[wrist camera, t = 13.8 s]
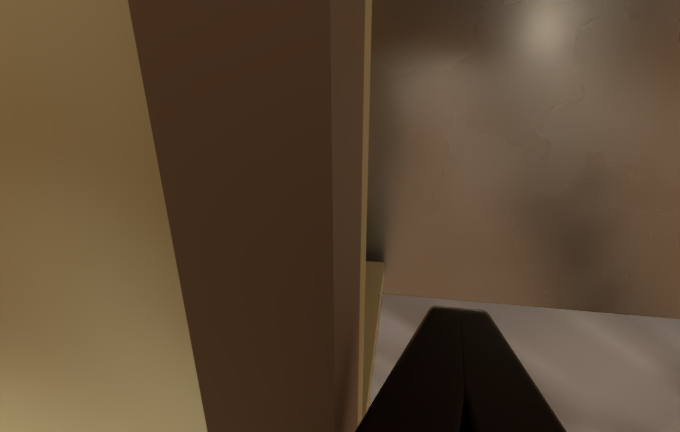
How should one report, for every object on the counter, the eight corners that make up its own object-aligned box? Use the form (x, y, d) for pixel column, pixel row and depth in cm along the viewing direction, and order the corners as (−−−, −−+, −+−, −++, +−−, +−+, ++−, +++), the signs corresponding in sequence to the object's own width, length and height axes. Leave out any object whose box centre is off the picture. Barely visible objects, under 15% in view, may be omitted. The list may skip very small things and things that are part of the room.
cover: (383, 286, 17) (338, 660, 10) (128, 265, 18) (-89, 595, 10) (402, -154, 11) (330, -42, 4) (27, -157, 12) (-589, -67, 5)
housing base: (862, 304, 17) (976, 446, 13) (126, 245, 19) (52, 352, 16) (1158, -191, 11) (1519, -177, 7) (24, -191, 13) (-138, -181, 9)
